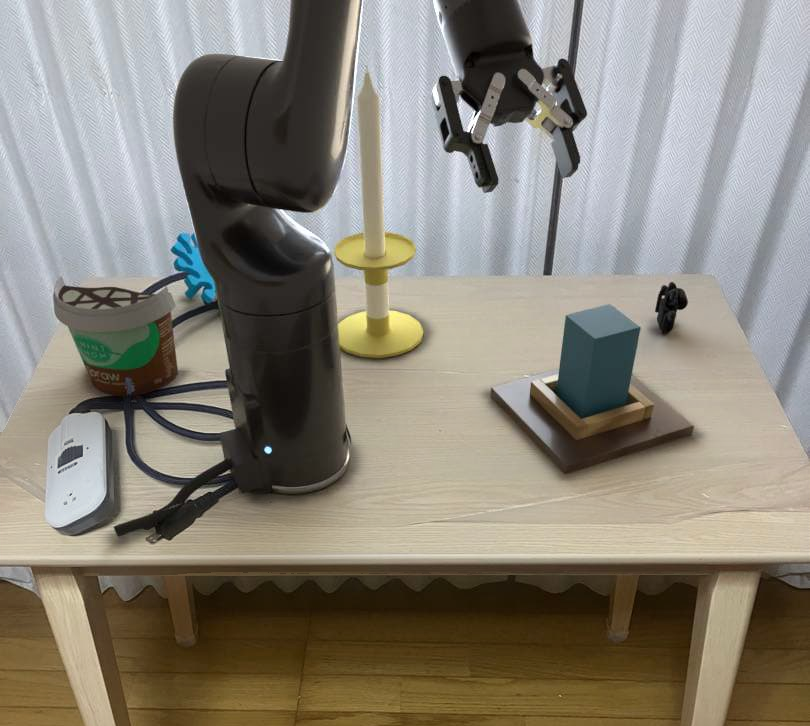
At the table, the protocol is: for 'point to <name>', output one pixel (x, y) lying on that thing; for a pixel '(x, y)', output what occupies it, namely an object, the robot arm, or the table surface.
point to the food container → (120, 335)
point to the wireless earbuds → (669, 306)
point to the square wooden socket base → (588, 422)
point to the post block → (597, 360)
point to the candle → (375, 251)
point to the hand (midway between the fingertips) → (532, 181)
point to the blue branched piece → (193, 267)
